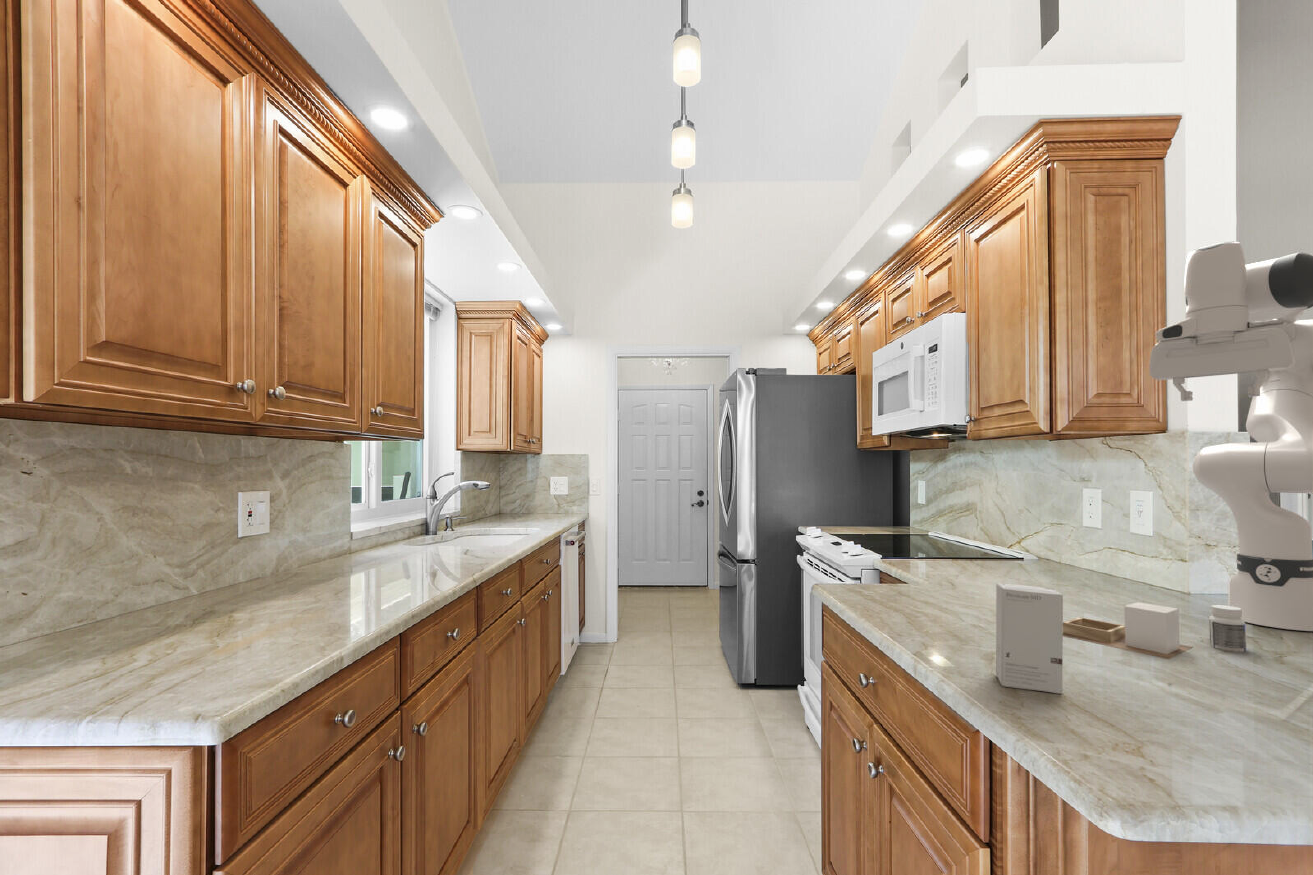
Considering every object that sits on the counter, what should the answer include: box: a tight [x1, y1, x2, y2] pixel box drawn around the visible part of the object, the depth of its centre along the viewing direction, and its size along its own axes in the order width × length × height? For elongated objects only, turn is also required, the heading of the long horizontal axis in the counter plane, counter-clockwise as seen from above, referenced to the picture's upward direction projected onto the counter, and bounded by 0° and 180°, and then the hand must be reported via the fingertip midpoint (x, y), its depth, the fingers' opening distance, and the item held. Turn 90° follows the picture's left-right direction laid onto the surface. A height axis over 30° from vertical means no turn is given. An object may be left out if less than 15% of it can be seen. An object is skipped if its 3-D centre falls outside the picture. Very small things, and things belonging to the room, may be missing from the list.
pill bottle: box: [1208, 604, 1247, 653], centre depth 107 cm, size 5×5×8 cm
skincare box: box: [995, 582, 1064, 694], centre depth 92 cm, size 8×6×15 cm
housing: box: [1124, 601, 1181, 654], centre depth 108 cm, size 6×6×7 cm
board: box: [1063, 616, 1193, 660], centre depth 111 cm, size 12×17×5 cm
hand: (1219, 398), depth 114 cm, fingers open, 8 cm apart
